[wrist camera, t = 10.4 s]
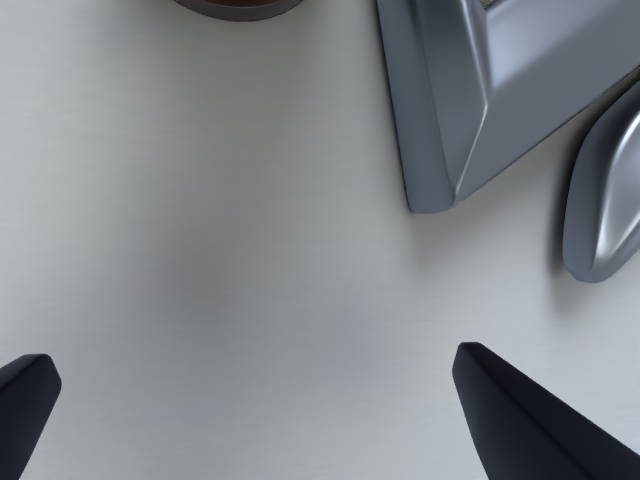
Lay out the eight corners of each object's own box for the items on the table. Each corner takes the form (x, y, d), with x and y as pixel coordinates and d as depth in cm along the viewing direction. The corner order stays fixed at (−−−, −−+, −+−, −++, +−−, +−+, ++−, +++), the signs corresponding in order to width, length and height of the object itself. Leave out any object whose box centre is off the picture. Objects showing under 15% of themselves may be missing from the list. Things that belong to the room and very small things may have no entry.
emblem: (777, 350, 18) (270, 115, 12) (655, 323, 23) (263, 151, 17) (917, -122, 19) (527, -522, 14) (773, -46, 24) (449, -313, 19)
